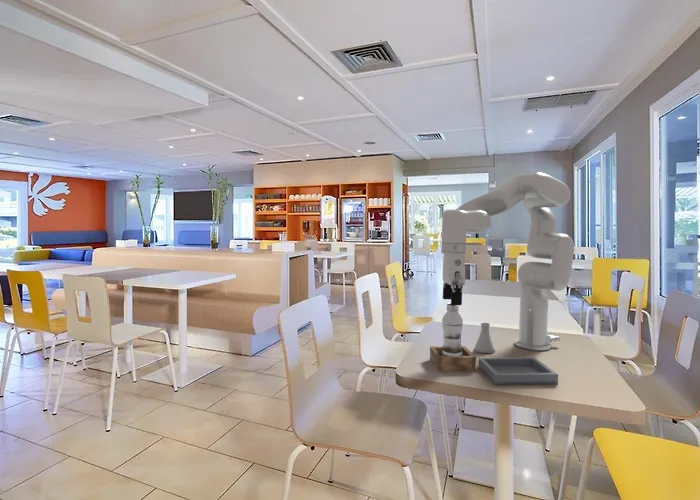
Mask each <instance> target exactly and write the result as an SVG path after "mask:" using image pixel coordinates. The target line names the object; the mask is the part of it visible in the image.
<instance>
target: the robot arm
mask: <svg viewBox="0 0 700 500" xmlns="http://www.w3.org/2000/svg"><path fill="white" fill-rule="evenodd" d="M570 199H571V189H570V188H569V186H568V185H567V184H566V183H564V182H563V181H561V180H559V179H557V178H555V177H554V176H551V175H549V174H546V173H543V172H531V173H530V172H529V173H521V174H517V175H514V176H512V177H510V178H509V179H507V180H506V181H505V182H503V183H502V184H500V185H499V186H497V187H496V188H494V189H493V190H492V191H490V192H487V193H484V194H482V195H480V196H478V197H476V198H472V199H471V200H469V201H467V202H464V203H463V204H461V205H459V207H457V208H456V209H447V210H445V211H443V212H442V216H441V217H442V219H441V221H442V222H441V251H440V252H441V254H443V259H442V260H443V261H442V281H443V284H442V286H443V287H442V299H443V300H450V303H451V305H459V306H462V304H463V303H462V302H463V287H464V286H465V285H466V259H465V255H466V253H467V252H466V249H467V234H481V233H485V232H487V230H488V229H489V228H490V227H491V223H492V220H491V217H494V216H498V215H501V214H504V213H506V212H508V211H509V210H511V209H513V207H515V206H516V205H517V204H518V203H520V202H522V203H523V205H524V207H525V208H526V210H527V211H528V215H529V217H530V226H529V232H528V233H529V234H528V238H527V244H526V252H527V254H528V256H529V257H531V258H534V259H539V260H540V259H542V260H549V261H550V260H551V263H550V262H542V261H541V262H540V261H526V262H523V263H522V264H521V265H520V266H519V268H518V271H517V279H518V284H519V320H518V321H519V322H518V323H519V324H518V327H519V328H518V329H519V330H518V338H515V340H514V345H516V347H519V348H521V349H525V350H530V351H548V350H550V349H551V348H552V342H560V341H561V337H560V335H559V336H558V335H555V336H554V335H551V334H548V322H549V321H548V317H549V313H548V312H549V299H548V295H547V293H546V290H549V291H553V292H561V291H564V290H565V289H567V287H568V286H569V282H570V279H571V273H572V268H573V267H572V266H573V261H574V255H575V244H574V239H573V238H572V237H571V236H570V235H568V234H565V233H556V227H557V218H556V215H555V214H554V212H553V211H552V209H551V208H562V207H564V206H566V205H567V204H568V203H569V201H570Z"/></svg>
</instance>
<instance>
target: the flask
mask: <svg viewBox="0 0 700 500" xmlns="http://www.w3.org/2000/svg"><path fill="white" fill-rule="evenodd" d="M480 326H481V327H480V328H481V329H480V333H479V337H478V338H477V342H476V343H475V346H474V350H475V352H477V353H482V354H493V353H495V352H496V349H495V346H494V343H493V340H492V336H491V334H490V326H491V323H489V322H480Z"/></svg>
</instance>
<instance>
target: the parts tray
mask: <svg viewBox="0 0 700 500" xmlns="http://www.w3.org/2000/svg"><path fill="white" fill-rule="evenodd" d="M477 364H478V366H477V367H478V369H480V371H481V372H483V374H484V375H485V376H486V377H487V378H488V379H489V380H490V381H491V382H492V383H493V385H495V386H538V385H539V386H540V385H543V386H544V385H545V386H547V385H551V386H552V385H558V384H559V383H558V382H559V374H558V373H557V372H555V371H554V370H552V369H551V368H550V367H549V366H547V365H546V364H544V363H543V362H541V361H539V359H537V358H535V357H528V356H527V357H525V356H524V357H478V363H477Z"/></svg>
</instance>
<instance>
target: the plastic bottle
mask: <svg viewBox="0 0 700 500" xmlns="http://www.w3.org/2000/svg"><path fill="white" fill-rule="evenodd" d="M459 307H460V305H451V302H450V303H447V304H446V313H445V314H443V316H442V318H441V325H442V332H443V344H442V345H443V351H442V356H462V351H461V346H462V332H463V331H462V330H463V324H464V321H463V318H462V316H461V314H460V313H459V310H460V309H459Z"/></svg>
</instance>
